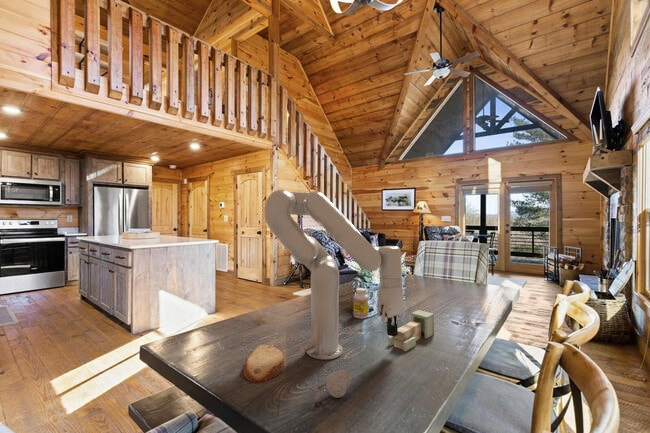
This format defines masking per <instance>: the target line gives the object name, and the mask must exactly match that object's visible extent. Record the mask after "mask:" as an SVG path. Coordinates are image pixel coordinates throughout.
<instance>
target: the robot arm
mask: <svg viewBox="0 0 650 433" xmlns="http://www.w3.org/2000/svg"><path fill="white" fill-rule="evenodd" d="M263 211H264V212H263V213H264V218H265V222H266V225H267V227H268V229H269V230H270V231H271V233H273V234H274V236H275V237H276V238H277V239H278V241H279V242H280V244H282V245H283V247H284V248H285V249H286V251H288V253H289V254H290V255H291V256H292V257H293V259H294V260H295V261H296V262H297V263H298V264H302V265H304V266H305V267H306V268H307V269H308V270H309V272H310V339H309V340H308V343H307V344H306V345H304V346H301V347H300V348H299V351H300V353H301V354H305V353H307V355H308V356H309V357H311V358H312V359H318V360H333V359H337V358H338V357H339V356H342V355H343V352H344V351H343V350H344V347H343V346H342V345H341V344H339V315H340V314H339V313H340V312H339V306H340V305H339V303H340V302H339V301H340V300H339V299H340V298H339V297H340V296H339V293H340V292H339V291H340V271H339V267H338V264H337V262H336V260H335V259H334V258H333V257H332V255H330V253H328V251H327V250H326V249H325V247H324V246H322V244H320V242H319V241H318V240H317V239H316V238H315V237H313V236H312V235H309V234H307V233H306V231H304V230H303V229H302V227H301V226H300V225H299V223H297V221H295V220H294V218H293V217H292V215H295V216H309V217H310V218H312V220H314V221H315V222H316V223H317V225H319V227H320V228H322V230H323V231H324V232H325V233H326V234H327V235H328V236H330V238H331V239H332V240H333V241H334V242H335V243H336V244H338V245H339V246H340V248H341V249H342V250H344V251H345V253H347V255H348V256H350V258H351V259H352V260H353V261H354V262H355V263H356V264H357V265H358V266H359V267H360V268H361V269H362V270H364V271H367V272H374V271H376V270H378V269H379V270H378V274H379V287H378V292H377V302H376V303H377V316H379V317H381V322H382V323H383V322H385V324H386V335H387V336H393V337H395V336H397V335H398V323H399V318H400V316H401V315H402V312H404V310H405V309H404V308H405V306H404V305H405V304H404V303H405V302H404V292H403V277H402V276H403V275H402V250H401V248H400V247H399V246H395V245H384V246H373V245H372V244H371V243H370V242H369V241H368V240H367V239H366V238H365V236H363V235H362V234H361V233H360V232H359V230H358V229H357V228H356V227H355V226H354V224H353V223H352V222H351V221H350V220H349V219H348V218H347V217H346V216H345V215H344V213H342V212H341V211H340V210H339V209H338V208H337V206H335V204H334V203H333V202H332V201H330V199H329V198H328V197H326V195H325V194H323V193H322V192H320V191H317V190H315V191H311V192H295V191H288V190H285V189H276V190H274V191H273V192H271V193H270V195H268V198H267V199H266V201H265V206H264V210H263Z"/></svg>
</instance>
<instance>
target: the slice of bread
mask: <svg viewBox="0 0 650 433" xmlns="http://www.w3.org/2000/svg"><path fill="white" fill-rule="evenodd" d="M285 358H286V357H285V355H284V354H283V352H282V351H281V349H279V348H278V347H275V345H274V346H273V345H268V344H259V346H257V347H256V348H255V349H254V350H253V351H252V352H251V353H250V355H249V357H248V358H247V360H246V363H245V366H244V370H243V376H244V377H245V379H247V381H249V382H250V383H253V384H262V382H263V383H267V382H269V381H270V380H271V379H273V378H274V377H278V376H279V374H280V373H281V372H282V371H283V370H284V366H285V364H286V359H285ZM268 380H269V381H268ZM266 381H267V382H266Z"/></svg>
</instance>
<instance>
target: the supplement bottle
mask: <svg viewBox="0 0 650 433" xmlns="http://www.w3.org/2000/svg"><path fill="white" fill-rule="evenodd" d="M355 292H356V293H355V294H354V295H353V317H354V318H356V319H361V320H362V319H363V320H364V319H367V318H368V317H369V295H368V294H366V293H367V288H363V287H357V288H356V289H355Z"/></svg>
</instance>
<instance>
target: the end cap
mask: <svg viewBox="0 0 650 433" xmlns="http://www.w3.org/2000/svg"><path fill="white" fill-rule="evenodd" d="M411 321H415V322H419V323H421V333H423V335H424V339H428V338H430V337H431V336H434V335H435V313H432V312H429V311H424V310H421V309H417V310H415V311H412V312H410V322H411Z"/></svg>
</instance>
